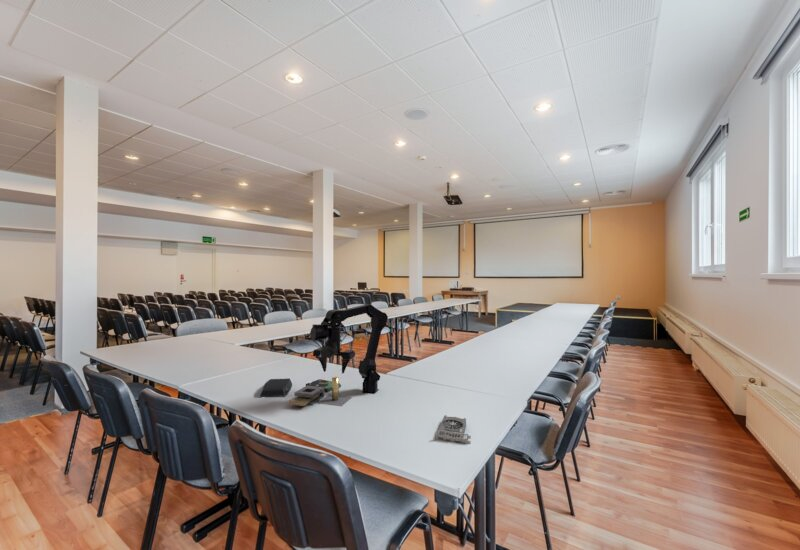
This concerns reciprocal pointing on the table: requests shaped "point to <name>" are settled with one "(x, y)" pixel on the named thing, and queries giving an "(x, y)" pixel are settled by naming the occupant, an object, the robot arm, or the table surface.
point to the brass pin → (335, 388)
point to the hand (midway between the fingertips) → (333, 372)
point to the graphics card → (453, 430)
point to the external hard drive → (276, 388)
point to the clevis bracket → (308, 396)
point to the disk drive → (322, 384)
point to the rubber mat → (328, 401)
